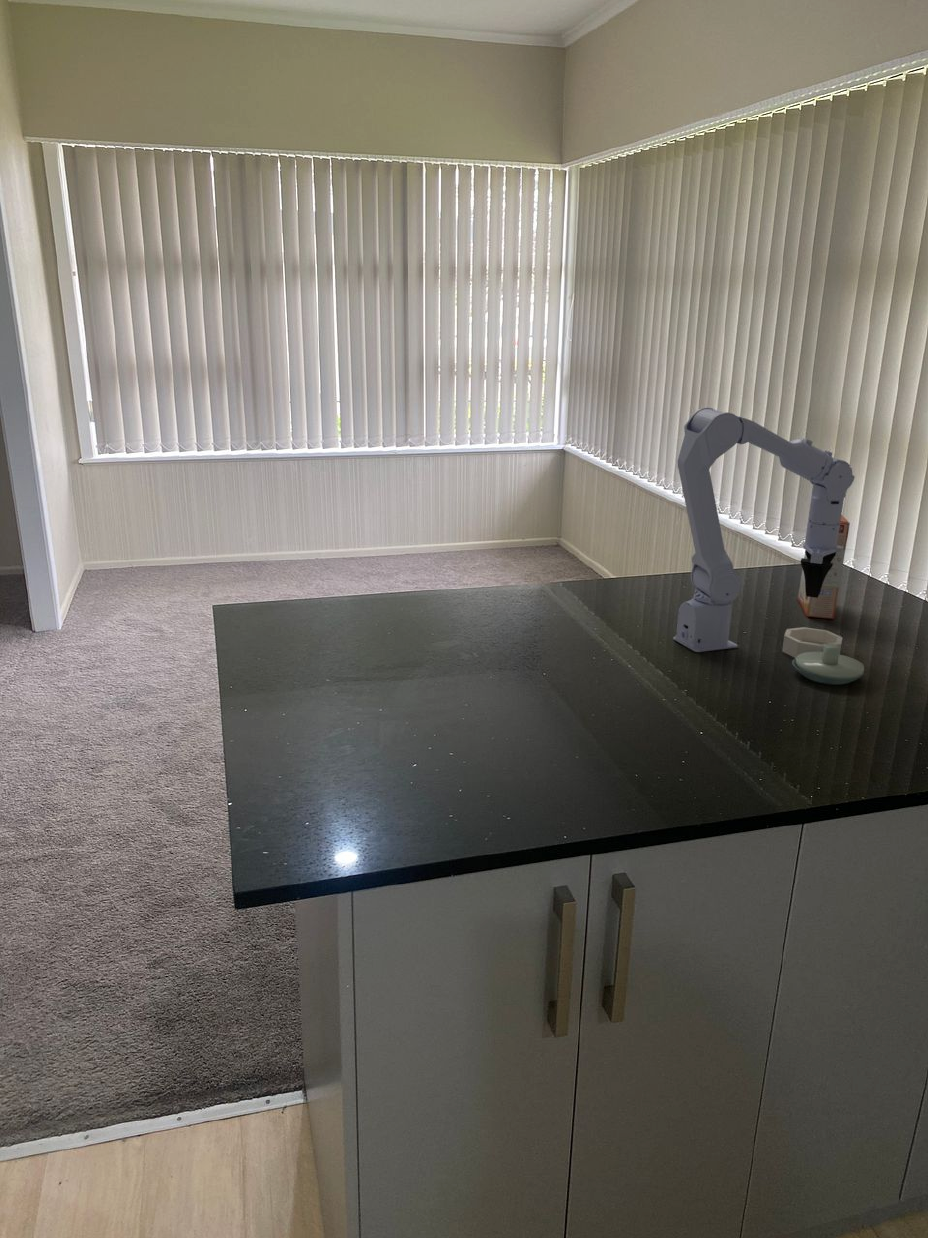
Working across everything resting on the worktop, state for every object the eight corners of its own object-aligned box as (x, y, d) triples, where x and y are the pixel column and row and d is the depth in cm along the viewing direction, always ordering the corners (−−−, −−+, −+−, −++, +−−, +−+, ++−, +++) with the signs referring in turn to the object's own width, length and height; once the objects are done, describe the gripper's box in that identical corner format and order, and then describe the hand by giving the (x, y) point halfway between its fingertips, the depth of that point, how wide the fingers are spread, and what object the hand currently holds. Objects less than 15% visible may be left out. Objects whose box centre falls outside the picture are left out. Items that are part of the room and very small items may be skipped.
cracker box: (835, 620, 197) (851, 522, 190) (805, 617, 198) (820, 520, 191) (825, 601, 210) (839, 508, 203) (797, 599, 211) (810, 506, 204)
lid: (822, 681, 158) (825, 660, 157) (782, 658, 168) (785, 638, 167) (877, 675, 161) (881, 655, 160) (835, 653, 171) (838, 633, 170)
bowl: (807, 664, 171) (810, 647, 170) (772, 646, 180) (774, 630, 179) (851, 658, 175) (853, 642, 174) (814, 641, 183) (816, 625, 182)
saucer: (804, 661, 173) (806, 650, 173) (870, 677, 166) (873, 665, 166) (780, 679, 165) (782, 667, 164) (849, 697, 158) (851, 684, 157)
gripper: (844, 532, 169) (833, 604, 173) (848, 517, 181) (838, 585, 186) (803, 527, 171) (793, 598, 176) (810, 513, 184) (800, 580, 188)
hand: (813, 591), depth 181 cm, fingers open, 7 cm apart
